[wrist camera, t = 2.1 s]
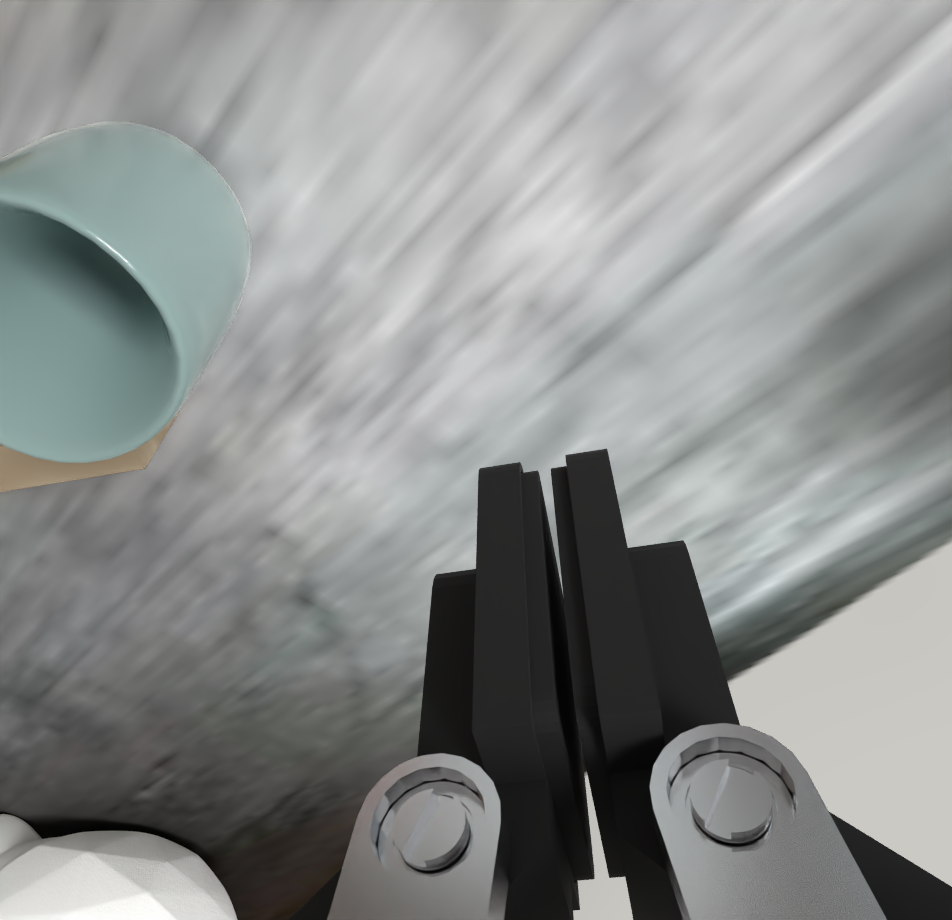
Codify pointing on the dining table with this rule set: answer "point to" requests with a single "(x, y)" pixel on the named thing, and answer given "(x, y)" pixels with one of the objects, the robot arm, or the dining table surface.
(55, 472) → the corral
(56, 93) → the dining table surface
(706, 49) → the dining table surface
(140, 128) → the cup
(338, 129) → the dining table surface
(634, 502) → the dining table surface
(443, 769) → the robot arm
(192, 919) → the decorative rooster
